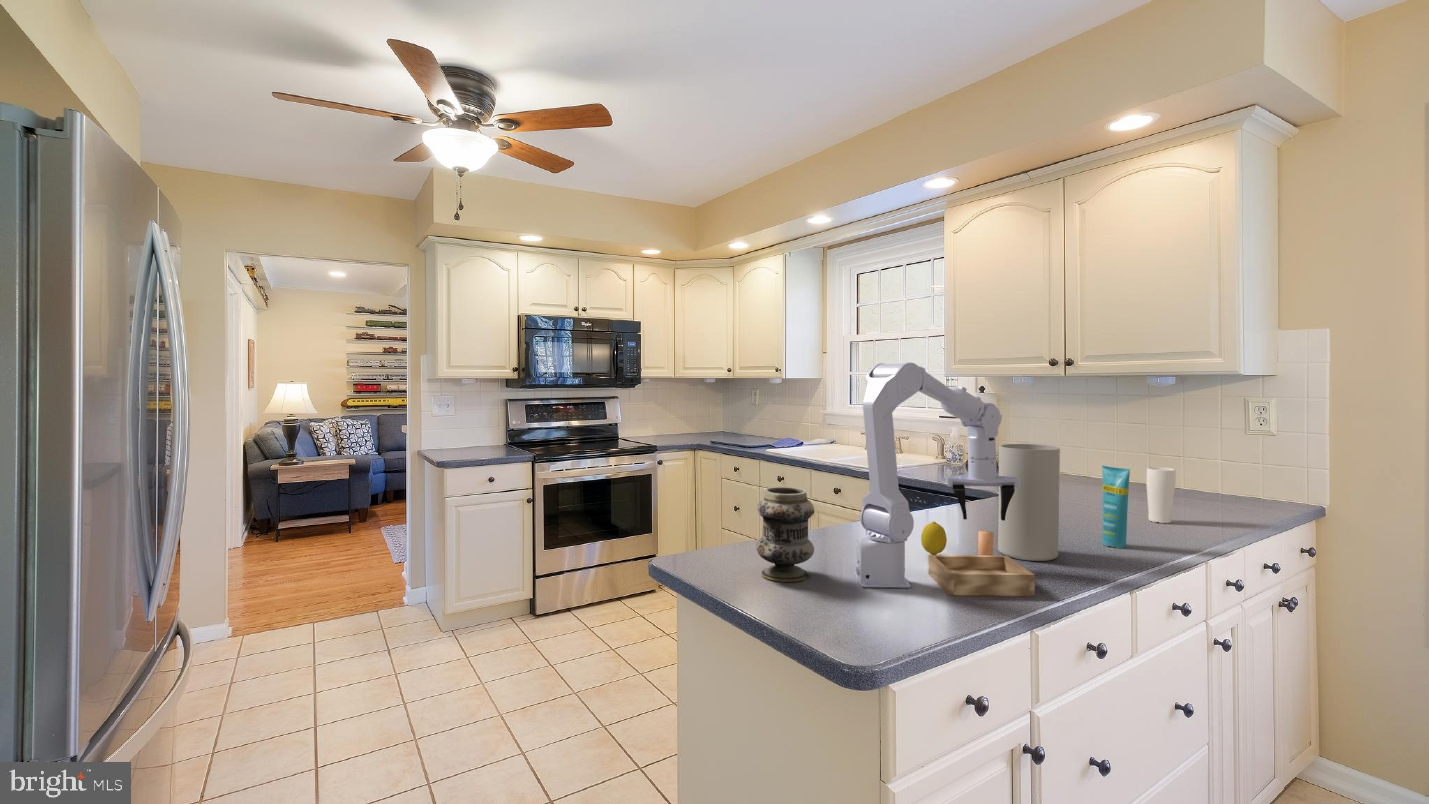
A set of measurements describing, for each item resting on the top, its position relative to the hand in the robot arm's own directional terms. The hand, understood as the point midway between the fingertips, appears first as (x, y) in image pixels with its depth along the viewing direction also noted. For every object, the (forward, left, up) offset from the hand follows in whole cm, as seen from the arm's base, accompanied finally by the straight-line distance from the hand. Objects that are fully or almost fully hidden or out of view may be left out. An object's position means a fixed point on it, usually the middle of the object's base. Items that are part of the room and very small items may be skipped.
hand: (983, 518), depth 141 cm
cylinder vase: (+13, +8, -10) cm, 19 cm away
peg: (-1, -4, -10) cm, 11 cm away
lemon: (-9, +6, -10) cm, 15 cm away
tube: (+37, +16, -10) cm, 42 cm away
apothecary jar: (-44, -9, -10) cm, 46 cm away
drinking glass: (+64, +42, -10) cm, 77 cm away
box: (-6, -14, -10) cm, 18 cm away
